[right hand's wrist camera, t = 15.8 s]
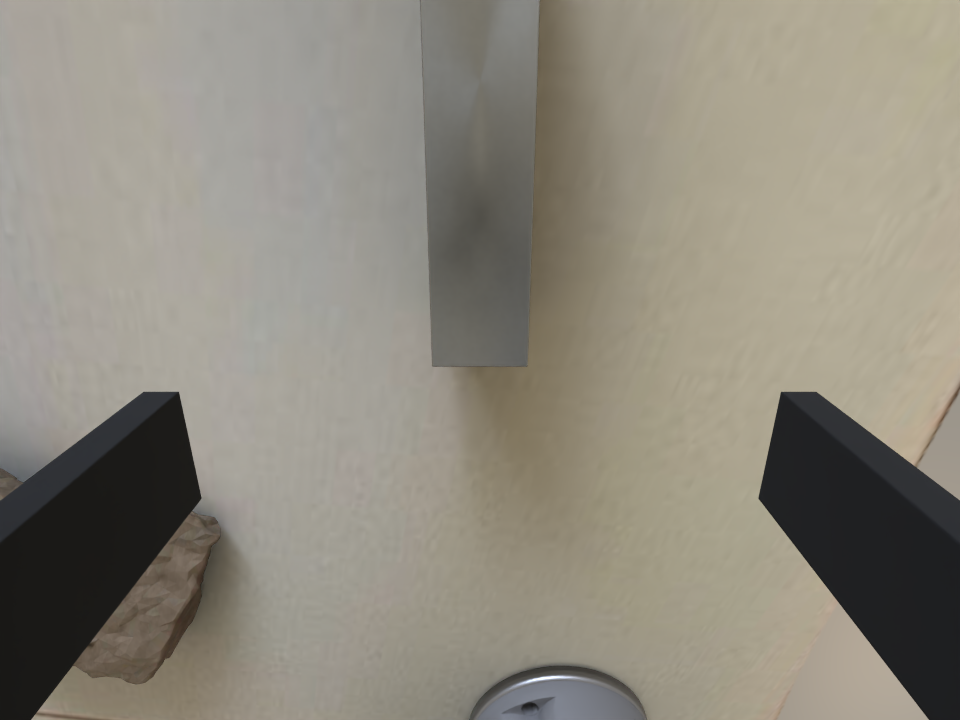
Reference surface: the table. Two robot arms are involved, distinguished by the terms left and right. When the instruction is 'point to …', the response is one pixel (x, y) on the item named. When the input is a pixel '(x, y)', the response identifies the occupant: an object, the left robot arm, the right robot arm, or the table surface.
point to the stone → (149, 604)
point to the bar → (480, 176)
